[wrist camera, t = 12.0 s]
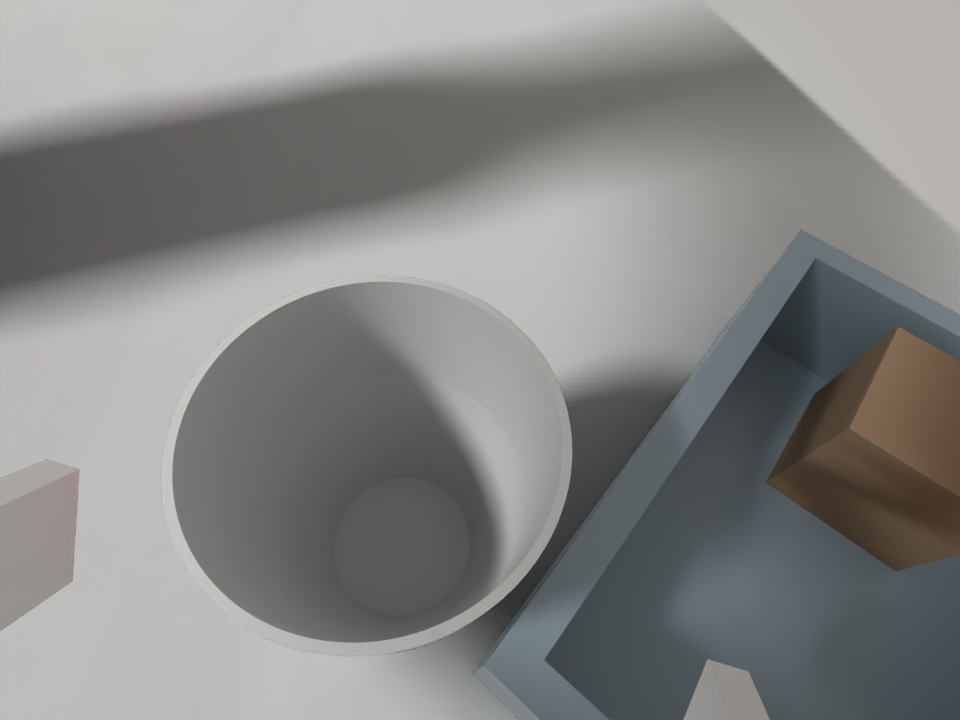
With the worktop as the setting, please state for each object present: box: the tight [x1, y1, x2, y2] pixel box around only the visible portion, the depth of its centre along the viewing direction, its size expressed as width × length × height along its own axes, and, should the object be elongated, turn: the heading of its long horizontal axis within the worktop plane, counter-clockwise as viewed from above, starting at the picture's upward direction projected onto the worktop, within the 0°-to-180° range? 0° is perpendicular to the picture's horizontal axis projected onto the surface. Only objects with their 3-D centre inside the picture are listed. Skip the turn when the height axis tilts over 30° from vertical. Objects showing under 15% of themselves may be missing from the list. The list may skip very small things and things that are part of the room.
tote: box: [472, 230, 960, 720], centre depth 17 cm, size 14×19×6 cm
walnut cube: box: [766, 327, 960, 571], centre depth 19 cm, size 5×5×5 cm
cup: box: [161, 275, 572, 656], centre depth 15 cm, size 8×8×10 cm
